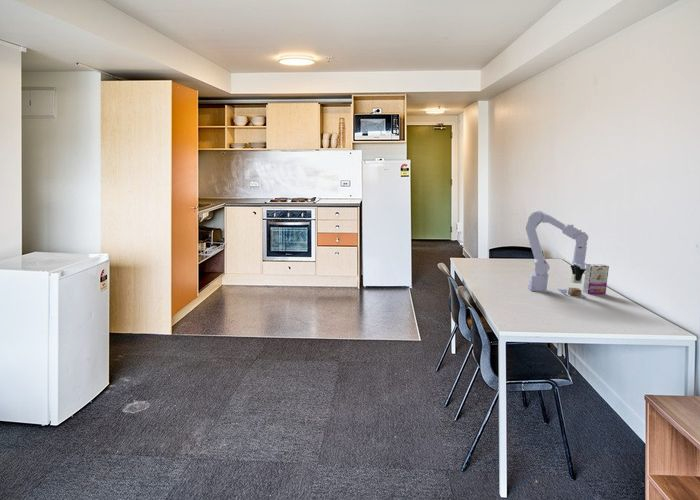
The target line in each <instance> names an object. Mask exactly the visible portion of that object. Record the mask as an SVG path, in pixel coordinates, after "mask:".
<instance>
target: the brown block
mask: <svg viewBox="0 0 700 500" xmlns="http://www.w3.org/2000/svg"><path fill="white" fill-rule="evenodd" d="M568 290H569V291H568V294H569V295H570V296H577V297H576V298H581V294H582V292H583V289H580V288H577V287H568Z"/></svg>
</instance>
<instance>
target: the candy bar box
mask: <svg viewBox="0 0 700 500" xmlns="http://www.w3.org/2000/svg"><path fill="white" fill-rule="evenodd" d="M586 264H587V265H585V269H586V271H585V272H584V279H583V280H584V282H583V288H582V293H584V294H587V295H606V292H607V285H608V277H609V271H610V270H609V268H610V266H609V265H607V264H603V263H601V264H599V263H598V264H595V263H593V264H591V263H589V264H588V263H586Z"/></svg>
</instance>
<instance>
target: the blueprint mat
mask: <svg viewBox="0 0 700 500" xmlns="http://www.w3.org/2000/svg"><path fill="white" fill-rule="evenodd" d="M557 290H558V291H559V292H560V293H561V294H563V295H564V296H565V297H568V298H569V297H571V298H578V297H577V296H570V295H569V294H568V291H569V289H562V288H561V289H559V288H558V289H557ZM581 298H583V299H584V298H585V299H588V297H587V296H585V294H583V293H581V297H580V299H581Z"/></svg>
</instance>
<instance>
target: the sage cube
mask: <svg viewBox="0 0 700 500" xmlns="http://www.w3.org/2000/svg"><path fill="white" fill-rule="evenodd" d="M582 279H583V276H582V277H581V280H580V281H576V279H575V274H571V280H570V282H571V283H573V284H579V285H580V284H582V282H583V281H582Z"/></svg>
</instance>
